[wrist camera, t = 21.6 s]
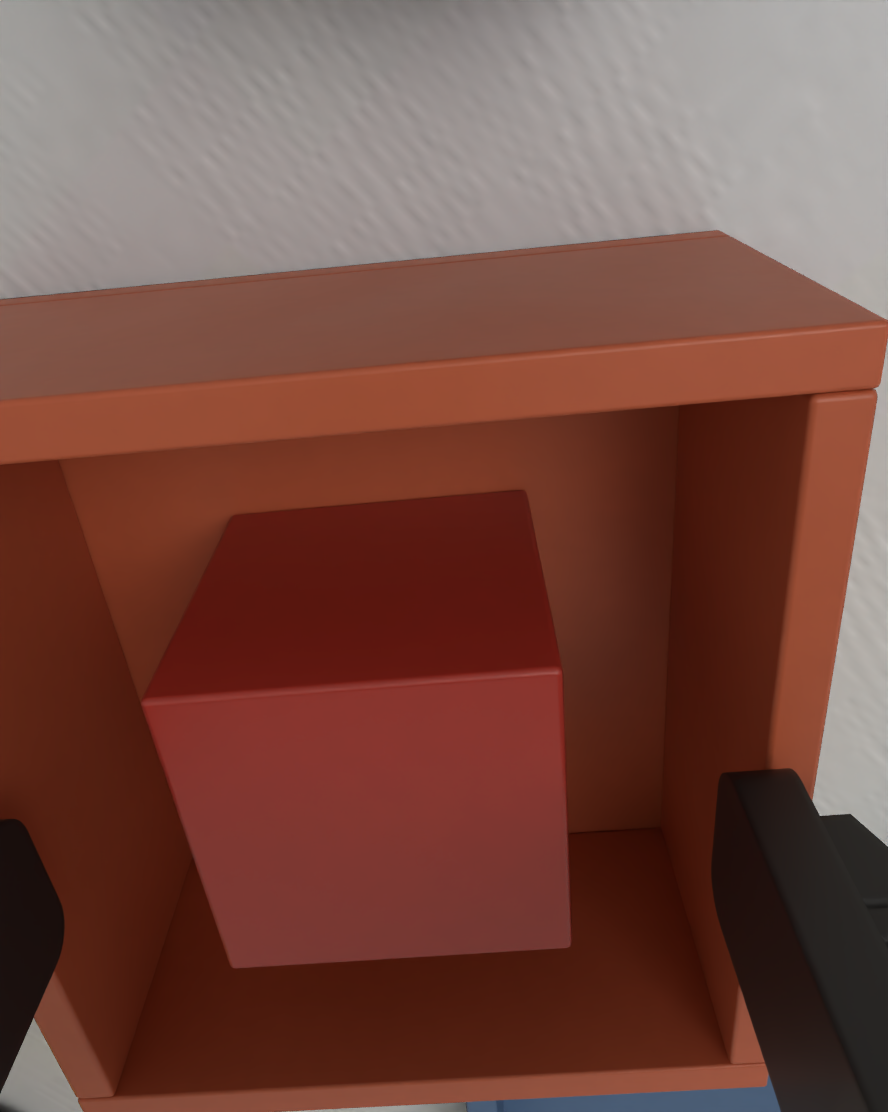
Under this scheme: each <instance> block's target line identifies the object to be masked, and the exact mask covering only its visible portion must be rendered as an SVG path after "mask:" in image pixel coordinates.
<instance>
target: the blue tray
mask: <svg viewBox="0 0 888 1112" xmlns="http://www.w3.org/2000/svg"><path fill="white" fill-rule="evenodd" d="M466 1107H467V1112H781V1110H780V1107H779V1104H778V1101H777V1098H776V1095H775V1092H774V1089H773V1086H772V1083H771V1080H770V1077H769V1075H768V1081H767V1085H766V1086H764V1087H748V1088H728V1089H709V1090H690V1091H670V1092H651V1093H631V1094H612V1095H593V1096H573V1097H554V1098H534V1099H515V1100H495V1101H476V1102H466Z"/></svg>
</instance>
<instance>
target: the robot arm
mask: <svg viewBox="0 0 888 1112" xmlns="http://www.w3.org/2000/svg"><path fill="white" fill-rule="evenodd" d="M711 880H712V890H713V897H714V903H715V908H716V912H717V916H718V920H719V924H720V927H721V930H722V933H723V936H724V939H725V942H726V945H727V948H728V951H729V954H730V958H731V961H732V964H733V967H734V970H735V973H736V976H737V979H738V982H739V985H740V988H741V991H742V994H743V997H744V1000H745V1003H746V1006H747V1009H748V1012H749V1016H750V1019H751V1022H752V1025H753V1028H754V1031H755V1034H756V1037H757V1040H758V1043H759V1046H760V1049H761V1052H762V1055H763V1058H764V1061H765V1064H766V1067H767V1070H768V1074H769V1077H770V1080H771V1083H772V1086H773V1089H774V1092H775V1095H776V1098H777V1101H778V1104H779V1107H780V1110H781V1112H888V847H887V846H886V845H885V844H884V843H883V842H882V841H881V840H879V839H878V838H877V837H876V836H875V835H874V834H873V833H871V832H870V831H869V830H868V829H867V828H866V827H865V826H864V825H862V824H861V823H860V822H859V821H858V820H857V819H856V818H854V817H853V816H852V815H851V814H844V815H829V816H819V814H818V812H817V810H816V808H815V806H814V804H813V802H812V800H811V798H810V796H809V794H808V792H807V790H806V788H805V786H804V784H803V782H802V781H801V779H800V777H799V776H798V774H797V773H796V772H795V771H794V770H793V769H791V768H783V769H769V770H754V771H739V772H725V773H722V774H721V776H720V778H719V782H718V792H717V803H716V814H715V826H714V837H713V849H712V860H711ZM64 932H65V919H64V912H63V907H62V904H61V902H60V899H59V897H58V895H57V893H56V891H55V888H54V886H53V884H52V882H51V880H50V878H49V875H48V873H47V871H46V869H45V867H44V865H43V863H42V860H41V858H40V856H39V854H38V852H37V850H36V847H35V845H34V843H33V841H32V839H31V837H30V834H29V832H28V830H27V828H26V827H25V825H24V824H23V823H22V822H21V821H19V820H17V819H0V1093H1V1091H2V1088H3V1086H4V1084H5V1081H6V1079H7V1077H8V1075H9V1072H10V1070H11V1068H12V1066H13V1063H14V1061H15V1059H16V1056H17V1054H18V1052H19V1050H20V1047H21V1045H22V1043H23V1040H24V1038H25V1036H26V1034H27V1031H28V1029H29V1027H30V1025H31V1022H32V1020H33V1018H34V1015H35V1013H36V1011H37V1009H38V1006H39V1004H40V1002H41V1000H42V997H43V995H44V993H45V990H46V988H47V986H48V984H49V981H50V979H51V977H52V975H53V972H54V970H55V968H56V965H57V963H58V960H59V958H60V954H61V951H62V947H63V941H64Z"/></svg>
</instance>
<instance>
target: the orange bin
mask: <svg viewBox="0 0 888 1112" xmlns="http://www.w3.org/2000/svg"><path fill="white" fill-rule="evenodd" d="M887 339H888V320H886V319H884V318H882V317H880V316H878V315H877V314H875V313H873V312H871V311H869V310H867V309H865V308H863V307H862V306H860V305H858V304H856V303H854V302H852V301H850V300H848V299H847V298H845V297H843V296H841V295H839V294H837V293H835V292H833V291H832V290H830V289H828V288H826V287H824V286H822V285H820V284H819V283H817V282H815V281H813V280H811V279H809V278H807V277H805V276H804V275H802V274H800V273H798V272H796V271H794V270H792V269H790V268H789V267H787V266H785V265H783V264H781V263H779V262H777V261H775V260H774V259H772V258H770V257H768V256H766V255H764V254H762V253H760V252H759V251H757V250H755V249H753V248H751V247H749V246H747V245H746V244H744V243H742V242H740V241H738V240H736V239H734V238H732V237H730V236H729V235H727V234H725V233H723V232H721V231H718V230H716V231H706V232H695V233H685V234H675V235H664V236H654V237H644V238H633V239H623V240H612V241H602V242H592V243H581V244H571V245H561V246H550V247H540V248H530V249H519V250H509V251H499V252H488V253H478V254H467V255H457V256H447V257H436V258H426V259H416V260H405V261H395V262H385V263H374V264H364V265H354V266H343V267H333V268H323V269H312V270H302V271H291V272H281V273H271V274H260V275H250V276H240V277H229V278H219V279H209V280H198V281H188V282H178V283H167V284H157V285H147V286H136V287H126V288H115V289H105V290H95V291H84V292H74V293H64V294H53V295H43V296H33V297H22V298H12V299H2V300H0V819H17V820H19V821H21V822H22V823H23V824H24V825H25V827H26V828H27V830H28V832H29V834H30V837H31V839H32V841H33V843H34V845H35V847H36V850H37V852H38V854H39V856H40V858H41V860H42V863H43V865H44V867H45V869H46V871H47V873H48V875H49V878H50V880H51V882H52V884H53V886H54V888H55V891H56V893H57V895H58V897H59V899H60V902H61V904H62V907H63V912H64V919H65V932H64V941H63V947H62V951H61V954H60V958H59V960H58V963H57V965H56V968H55V970H54V972H53V975H52V977H51V979H50V981H49V984H48V986H47V988H46V990H45V993H44V995H43V997H42V1000H41V1002H40V1004H39V1006H38V1009H37V1011H36V1013H35V1015H34V1019H35V1021H36V1023H37V1025H38V1026H39V1028H40V1030H41V1032H42V1034H43V1036H44V1038H45V1039H46V1041H47V1043H48V1045H49V1047H50V1049H51V1051H52V1052H53V1054H54V1056H55V1058H56V1060H57V1062H58V1064H59V1065H60V1067H61V1069H62V1071H63V1073H64V1075H65V1077H66V1078H67V1080H68V1082H69V1084H70V1086H71V1088H72V1090H73V1091H74V1093H75V1095H76V1097H78V1102H79V1104H80V1106H81V1108H82V1110H83V1112H282V1111H301V1110H321V1109H340V1108H360V1107H379V1106H398V1105H418V1104H437V1103H457V1102H476V1101H495V1100H515V1099H534V1098H554V1097H573V1096H593V1095H612V1094H631V1093H651V1092H670V1091H690V1090H709V1089H728V1088H748V1087H764V1086H766V1085H767V1081H768V1075H769V1074H768V1070H767V1067H766V1064H765V1061H764V1058H763V1055H762V1052H761V1049H760V1046H759V1043H758V1040H757V1037H756V1034H755V1031H754V1028H753V1025H752V1022H751V1019H750V1016H749V1012H748V1009H747V1006H746V1003H745V1000H744V997H743V994H742V991H741V988H740V985H739V982H738V979H737V976H736V973H735V970H734V967H733V964H732V961H731V958H730V954H729V951H728V948H727V945H726V942H725V939H724V936H723V933H722V930H721V927H720V924H719V920H718V916H717V912H716V908H715V903H714V897H713V890H712V880H711V860H712V849H713V837H714V826H715V814H716V803H717V792H718V782H719V778H720V776H721V774H722V773H725V772H739V771H754V770H769V769H783V768H791V769H793V770H794V771H795V772H796V773H797V774H798V776H799V777H800V779H801V781H802V782H803V784H804V786H805V788H806V790H807V792H808V794H809V796H810V798H811V800H812V799H813V793H814V786H815V780H816V774H817V768H818V762H819V755H820V749H821V743H822V737H823V731H824V725H825V718H826V712H827V706H828V700H829V694H830V687H831V681H832V675H833V669H834V663H835V657H836V650H837V644H838V638H839V632H840V626H841V619H842V613H843V607H844V601H845V595H846V589H847V582H848V576H849V570H850V564H851V558H852V551H853V545H854V539H855V533H856V527H857V521H858V514H859V508H860V502H861V496H862V490H863V483H864V477H865V471H866V465H867V459H868V452H869V446H870V440H871V434H872V428H873V422H874V415H875V409H876V403H877V393H876V390H875V389H873V388H876V387H878V386H879V384H880V382H881V376H882V370H883V364H884V358H885V351H886V345H887ZM518 490H523V491H526V493H527V495H528V500H529V505H530V510H531V515H532V520H533V525H534V530H535V534H536V539H537V544H538V549H539V554H540V559H541V564H542V569H543V574H544V579H545V584H546V589H547V594H548V599H549V604H550V609H551V614H552V619H553V623H554V628H555V633H556V638H557V643H558V648H559V653H560V658H561V663H562V668H563V683H564V712H565V741H566V770H567V799H568V828H569V857H570V886H571V915H572V943H571V946H570V947H568V948H561V949H545V950H529V951H512V952H496V953H480V954H464V955H447V956H431V957H415V958H399V959H383V960H366V961H350V962H334V963H318V964H302V965H285V966H269V967H253V968H237V969H236V968H232V967H231V966H230V964H229V961H228V958H227V955H226V952H225V949H224V946H223V943H222V940H221V937H220V934H219V931H218V928H217V926H216V923H215V920H214V917H213V914H212V911H211V908H210V905H209V902H208V899H207V896H206V893H205V890H204V888H203V885H202V882H201V879H200V876H199V873H198V870H197V867H196V864H195V861H194V858H193V855H192V852H191V850H190V847H189V844H188V841H187V838H186V835H185V832H184V829H183V826H182V823H181V820H180V817H179V814H178V812H177V809H176V806H175V803H174V800H173V797H172V794H171V791H170V788H169V785H168V782H167V779H166V777H165V774H164V771H163V768H162V765H161V762H160V759H159V756H158V753H157V750H156V747H155V744H154V741H153V739H152V736H151V733H150V730H149V727H148V724H147V721H146V718H145V715H144V712H143V709H142V706H141V701H142V697H143V695H144V693H145V691H146V689H147V687H148V685H149V683H150V681H151V679H152V677H153V675H154V673H155V671H156V669H157V667H158V665H159V663H160V661H161V659H162V657H163V655H164V653H165V651H166V649H167V647H168V645H169V642H170V640H171V638H172V636H173V634H174V632H175V630H176V628H177V626H178V624H179V622H180V620H181V618H182V616H183V614H184V612H185V610H186V608H187V606H188V604H189V602H190V600H191V598H192V596H193V594H194V592H195V590H196V588H197V586H198V583H199V581H200V579H201V577H202V575H203V573H204V571H205V569H206V567H207V565H208V563H209V561H210V559H211V557H212V555H213V553H214V551H215V549H216V547H217V545H218V543H219V541H220V539H221V537H222V535H223V533H224V531H225V529H226V527H227V524H228V522H229V520H230V518H231V517H232V516H234V515H242V514H254V513H265V512H277V511H288V510H300V509H311V508H323V507H334V506H346V505H357V504H369V503H380V502H392V501H403V500H415V499H426V498H437V497H449V496H460V495H472V494H483V493H495V492H506V491H518Z"/></svg>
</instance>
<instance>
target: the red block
mask: <svg viewBox="0 0 888 1112" xmlns="http://www.w3.org/2000/svg"><path fill="white" fill-rule="evenodd" d="M141 706H142V709H143V712H144V715H145V718H146V721H147V724H148V727H149V730H150V733H151V736H152V739H153V741H154V744H155V747H156V750H157V753H158V756H159V759H160V762H161V765H162V768H163V771H164V774H165V777H166V779H167V782H168V785H169V788H170V791H171V794H172V797H173V800H174V803H175V806H176V809H177V812H178V814H179V817H180V820H181V823H182V826H183V829H184V832H185V835H186V838H187V841H188V844H189V847H190V850H191V852H192V855H193V858H194V861H195V864H196V867H197V870H198V873H199V876H200V879H201V882H202V885H203V888H204V890H205V893H206V896H207V899H208V902H209V905H210V908H211V911H212V914H213V917H214V920H215V923H216V926H217V928H218V931H219V934H220V937H221V940H222V943H223V946H224V949H225V952H226V955H227V958H228V961H229V964H230V966H231V967H232V968H236V969H237V968H253V967H269V966H285V965H302V964H318V963H334V962H350V961H366V960H383V959H399V958H415V957H431V956H447V955H464V954H480V953H496V952H512V951H529V950H545V949H561V948H568V947H570V946H571V943H572V915H571V886H570V857H569V828H568V799H567V770H566V741H565V712H564V683H563V668H562V663H561V658H560V653H559V648H558V643H557V638H556V633H555V628H554V623H553V619H552V614H551V609H550V604H549V599H548V594H547V589H546V584H545V579H544V574H543V569H542V564H541V559H540V554H539V549H538V544H537V539H536V534H535V530H534V525H533V520H532V515H531V510H530V505H529V500H528V495H527V493H526V491H523V490H518V491H506V492H495V493H483V494H472V495H460V496H449V497H437V498H426V499H415V500H403V501H392V502H380V503H369V504H357V505H346V506H334V507H323V508H311V509H300V510H288V511H277V512H265V513H254V514H242V515H234V516H232V517H231V518H230V520H229V522H228V524H227V527H226V529H225V531H224V533H223V535H222V537H221V539H220V541H219V543H218V545H217V547H216V549H215V551H214V553H213V555H212V557H211V559H210V561H209V563H208V565H207V567H206V569H205V571H204V573H203V575H202V577H201V579H200V581H199V583H198V586H197V588H196V590H195V592H194V594H193V596H192V598H191V600H190V602H189V604H188V606H187V608H186V610H185V612H184V614H183V616H182V618H181V620H180V622H179V624H178V626H177V628H176V630H175V632H174V634H173V636H172V638H171V640H170V642H169V645H168V647H167V649H166V651H165V653H164V655H163V657H162V659H161V661H160V663H159V665H158V667H157V669H156V671H155V673H154V675H153V677H152V679H151V681H150V683H149V685H148V687H147V689H146V691H145V693H144V695H143V697H142V701H141Z"/></svg>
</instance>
